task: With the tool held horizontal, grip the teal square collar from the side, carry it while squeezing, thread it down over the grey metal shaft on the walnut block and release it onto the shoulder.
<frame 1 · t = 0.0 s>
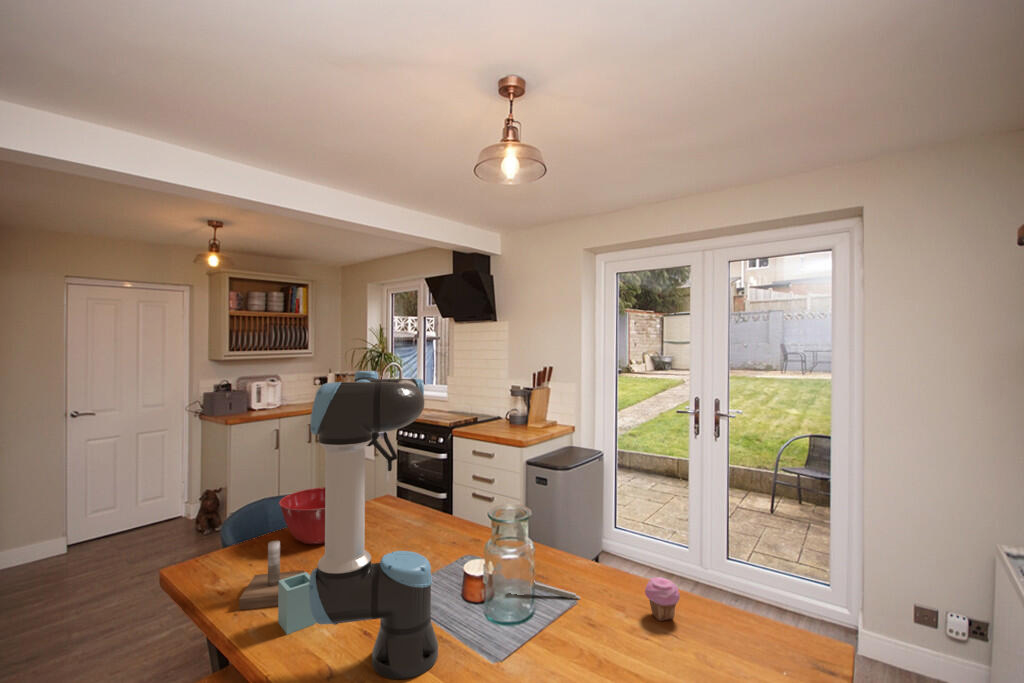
hand: (365, 482, 157), 28 cm above the table, tool pointing down, fingers open, 13 cm apart
collar: (297, 623, 125), on the table
cupcake: (662, 617, 129), on the table
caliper: (545, 596, 139), on the table
mixing bowl: (320, 537, 181), on the table
post: (273, 594, 139), on the table
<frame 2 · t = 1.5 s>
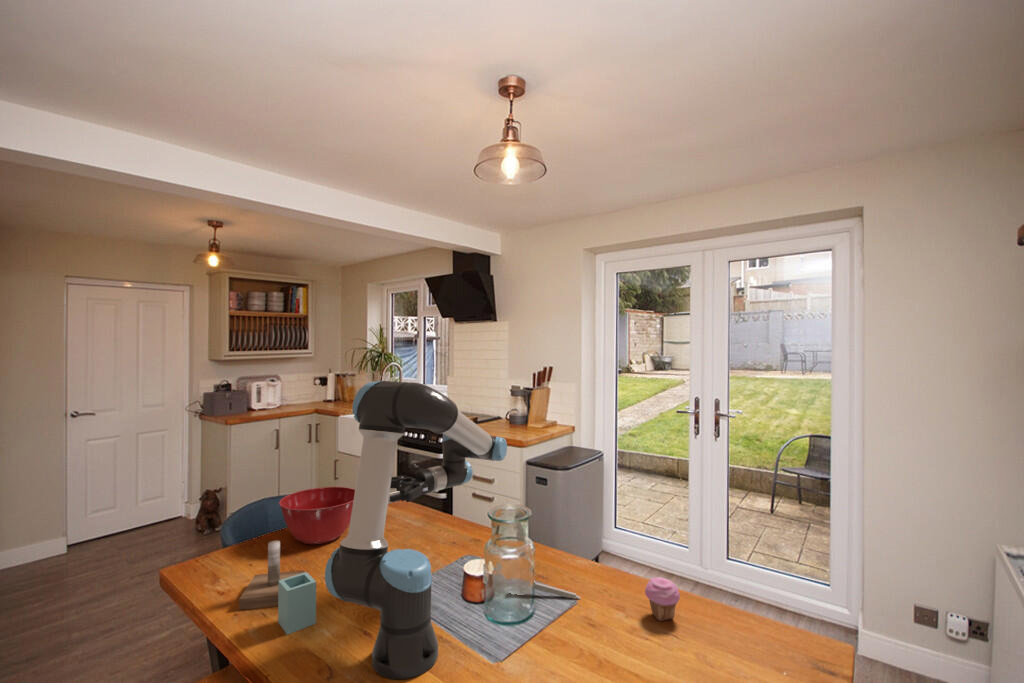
hand: (366, 495, 137), 30 cm above the table, tool horizontal, fingers open, 13 cm apart
nothing on the table moved.
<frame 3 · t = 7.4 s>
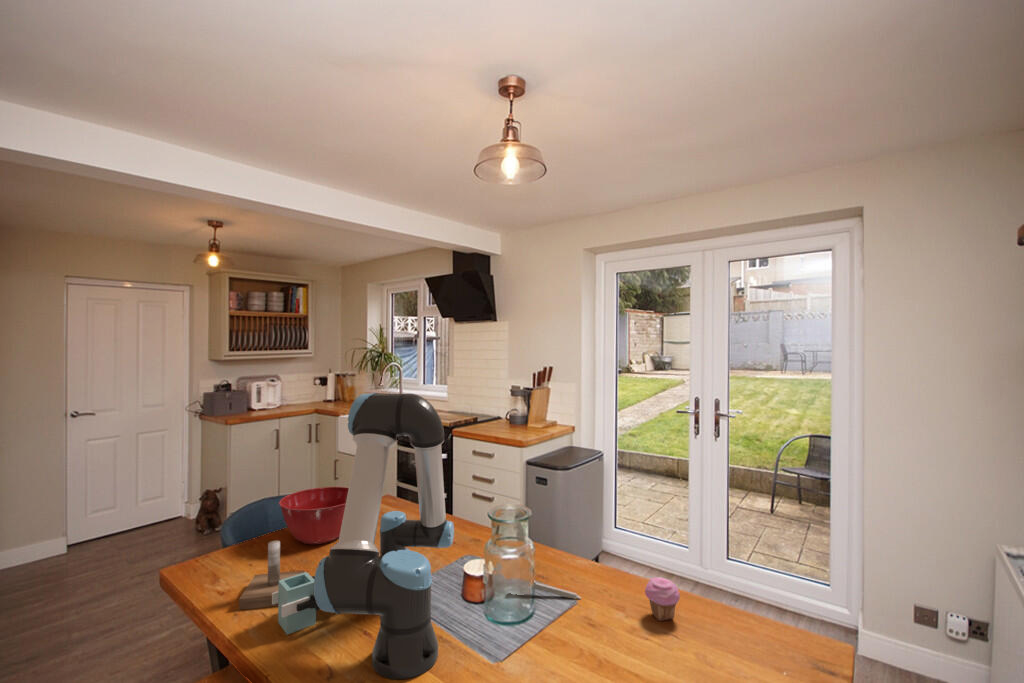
hand: (277, 605, 122), 7 cm above the table, tool horizontal, fingers closed on collar, 7 cm apart
collar: (297, 623, 125), on the table, touching gripper
everything else where it was.
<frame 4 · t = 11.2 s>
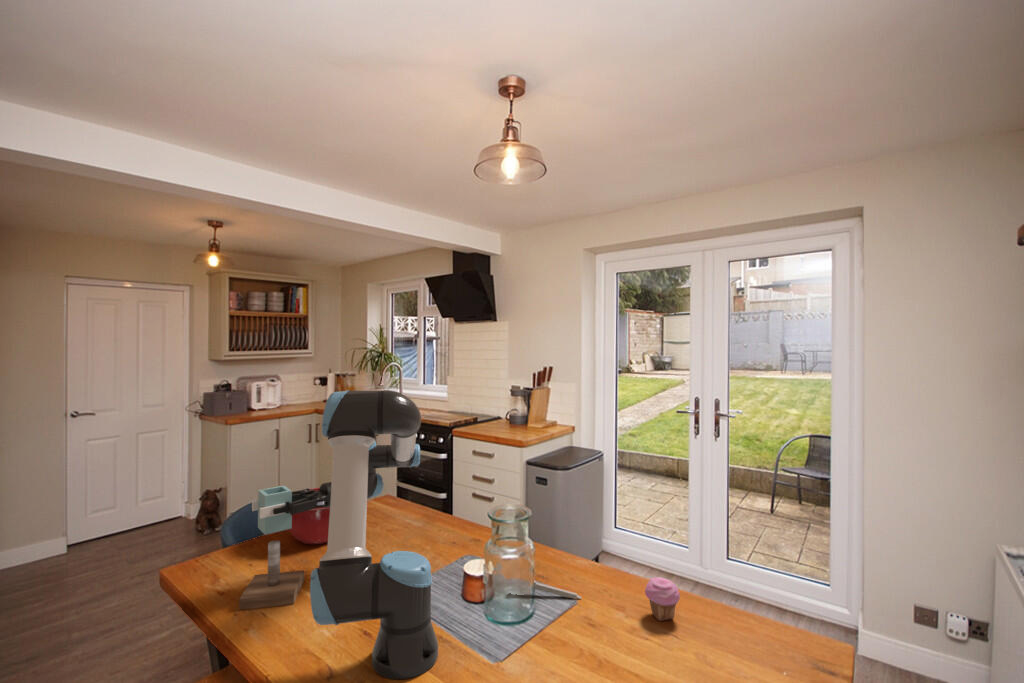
hand: (256, 509, 136), 26 cm above the table, tool horizontal, fingers closed on collar, 7 cm apart
collar: (274, 528, 140), point 19 cm above the table, touching gripper
everything else where it was.
when the fingers open (10 cm above the table, at t = 15.5 s): collar stays where it is, resting on post.
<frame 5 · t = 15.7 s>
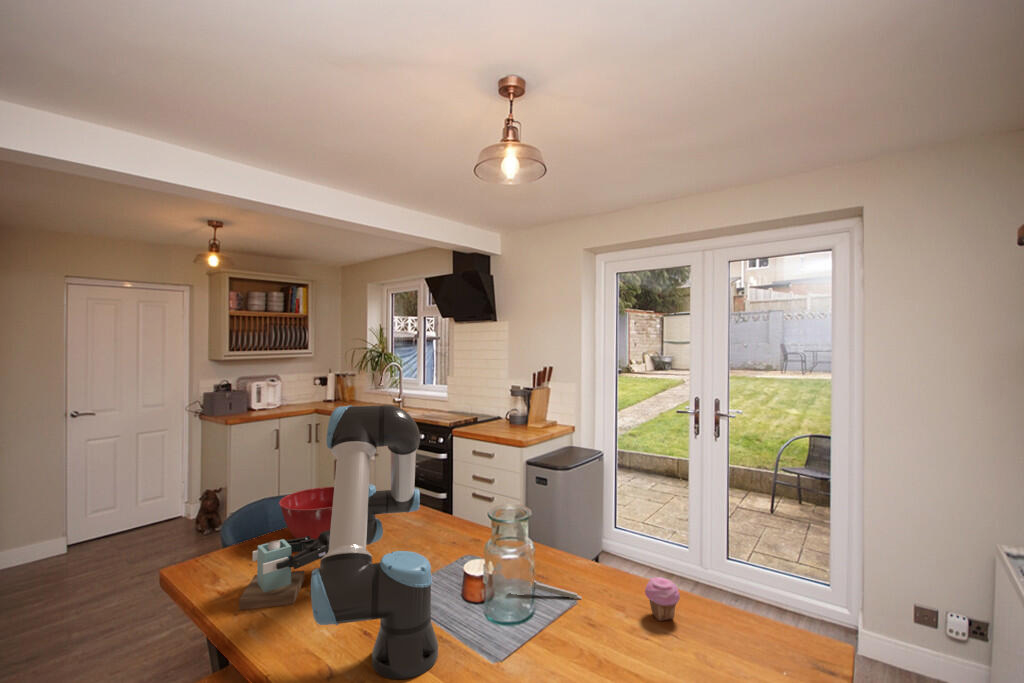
hand: (257, 562, 137), 10 cm above the table, tool horizontal, fingers open, 10 cm apart
collar: (274, 583, 139), point 3 cm above the table, touching post
everything else where it was.
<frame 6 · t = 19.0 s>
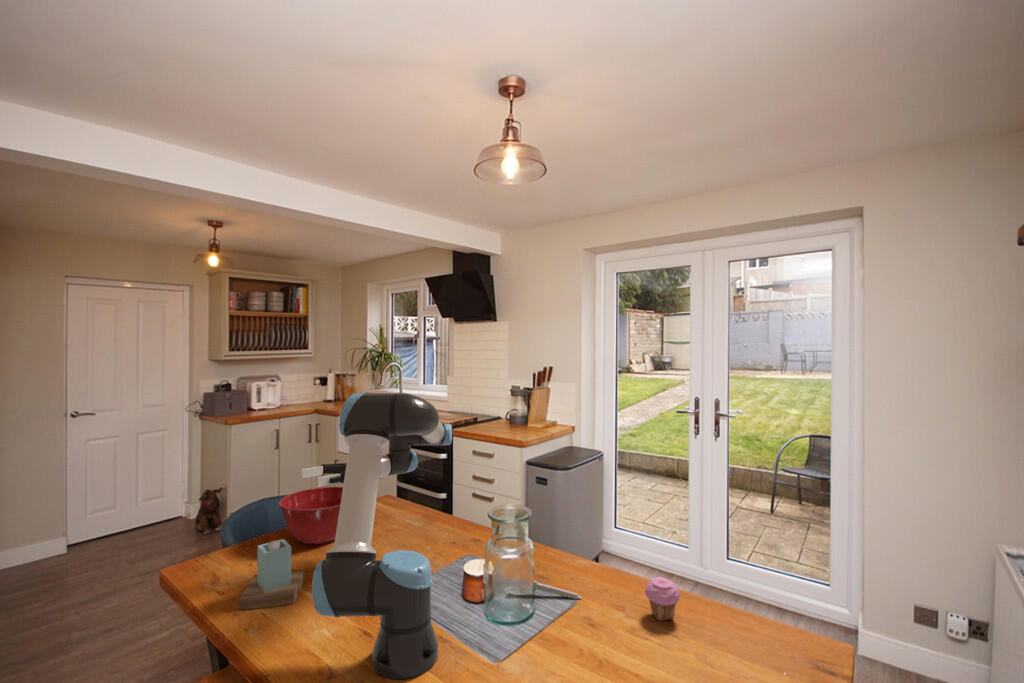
hand: (309, 477, 147), 32 cm above the table, tool horizontal, fingers open, 13 cm apart
nothing on the table moved.
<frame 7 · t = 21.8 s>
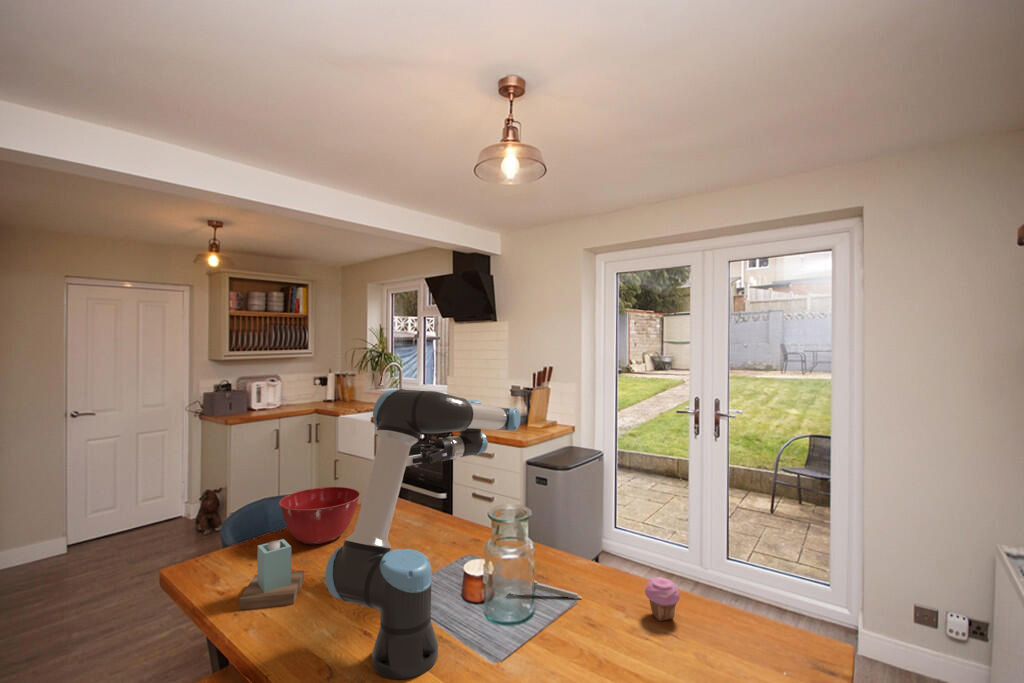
hand: (391, 458, 148), 38 cm above the table, tool horizontal, fingers open, 13 cm apart
nothing on the table moved.
at the end: collar 0.1 cm off-centre on the post, point 3.0 cm above the post's base; collar tilted 0°; the gripper is holding nothing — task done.
